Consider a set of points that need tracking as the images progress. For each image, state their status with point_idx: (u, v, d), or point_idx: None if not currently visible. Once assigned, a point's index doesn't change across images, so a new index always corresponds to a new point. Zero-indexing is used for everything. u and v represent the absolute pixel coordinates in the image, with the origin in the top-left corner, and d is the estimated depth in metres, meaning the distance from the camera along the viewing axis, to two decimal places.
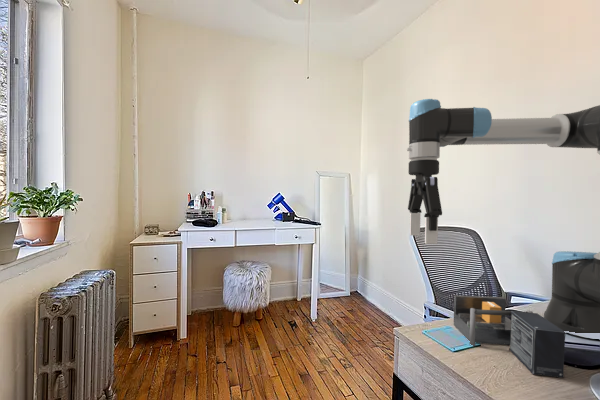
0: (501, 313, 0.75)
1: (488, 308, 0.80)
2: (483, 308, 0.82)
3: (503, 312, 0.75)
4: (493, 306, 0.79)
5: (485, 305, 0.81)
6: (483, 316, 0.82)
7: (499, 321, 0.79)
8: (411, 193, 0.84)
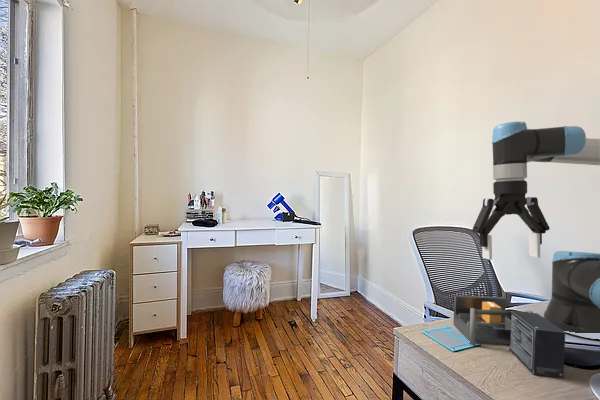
0: (501, 313, 0.75)
1: (488, 308, 0.80)
2: (483, 308, 0.82)
3: (503, 312, 0.75)
4: (493, 306, 0.79)
5: (485, 305, 0.81)
6: (483, 316, 0.82)
7: (499, 321, 0.79)
8: (529, 211, 0.80)
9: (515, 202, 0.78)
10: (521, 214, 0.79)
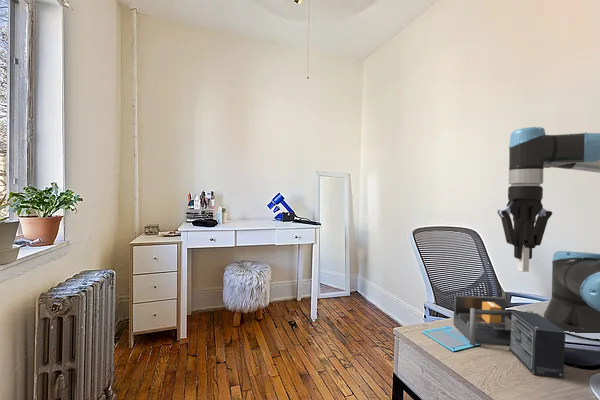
0: (501, 313, 0.75)
1: (488, 308, 0.80)
2: (483, 308, 0.82)
3: (503, 312, 0.75)
4: (493, 306, 0.79)
5: (485, 305, 0.81)
6: (483, 316, 0.82)
7: (499, 321, 0.79)
8: (535, 223, 0.80)
9: (531, 201, 0.78)
10: (527, 221, 0.79)
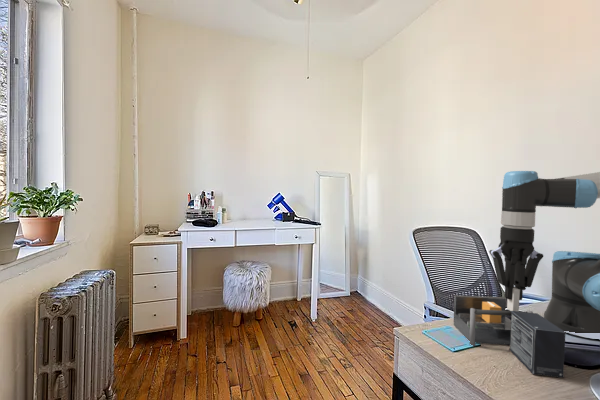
0: (501, 313, 0.75)
1: (488, 308, 0.80)
2: (483, 308, 0.82)
3: (503, 312, 0.75)
4: (493, 306, 0.79)
5: (485, 305, 0.81)
6: (483, 316, 0.82)
7: (499, 321, 0.79)
8: None
9: (522, 243, 0.78)
10: (518, 262, 0.80)
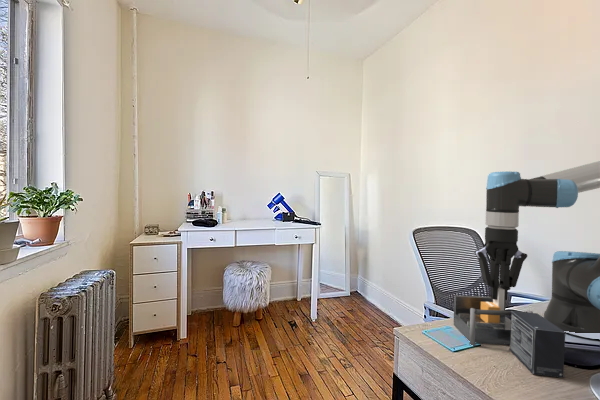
0: (501, 313, 0.75)
1: (486, 308, 0.80)
2: (482, 308, 0.82)
3: (503, 312, 0.75)
4: (491, 306, 0.79)
5: (484, 305, 0.81)
6: (482, 316, 0.82)
7: (497, 321, 0.79)
8: (511, 264, 0.81)
9: (507, 243, 0.79)
10: (502, 262, 0.80)
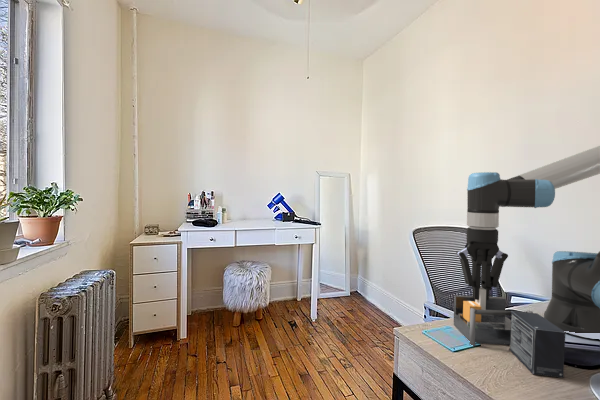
0: (501, 313, 0.75)
1: (468, 307, 0.80)
2: (464, 307, 0.83)
3: (503, 312, 0.75)
4: (473, 305, 0.80)
5: (466, 304, 0.82)
6: (464, 315, 0.83)
7: (479, 320, 0.79)
8: (493, 264, 0.82)
9: (487, 244, 0.79)
10: (484, 262, 0.81)
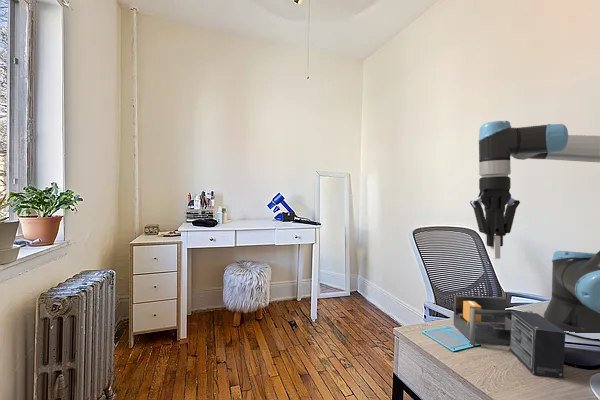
0: (501, 313, 0.75)
1: (468, 307, 0.80)
2: (464, 307, 0.83)
3: (503, 312, 0.75)
4: (473, 305, 0.80)
5: (466, 304, 0.82)
6: (464, 315, 0.83)
7: (479, 320, 0.79)
8: (505, 212, 0.84)
9: (500, 191, 0.82)
10: (497, 210, 0.83)
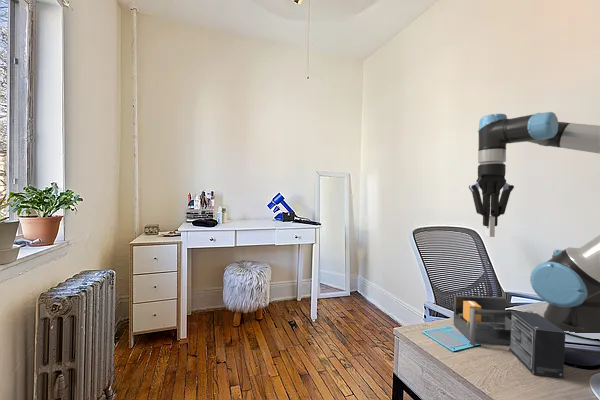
0: (501, 313, 0.75)
1: (468, 307, 0.80)
2: (464, 307, 0.83)
3: (503, 312, 0.75)
4: (473, 305, 0.80)
5: (466, 304, 0.82)
6: (464, 315, 0.83)
7: (479, 320, 0.79)
8: None
9: (496, 177, 0.92)
10: (493, 194, 0.93)
